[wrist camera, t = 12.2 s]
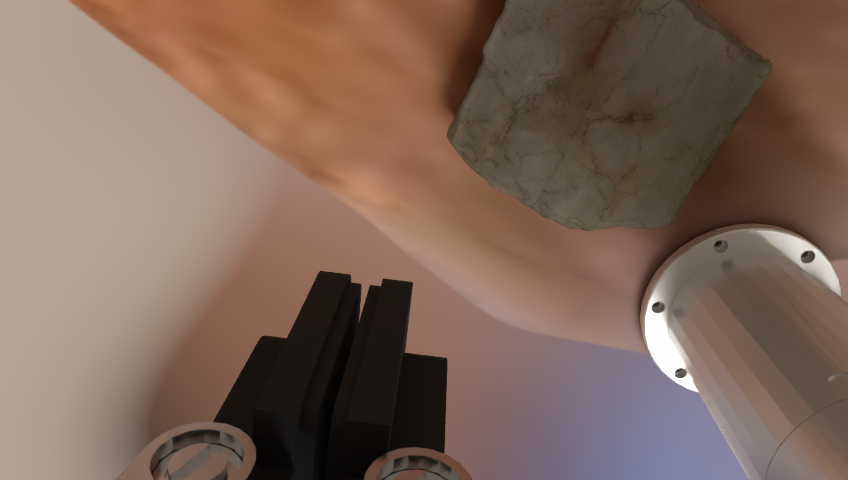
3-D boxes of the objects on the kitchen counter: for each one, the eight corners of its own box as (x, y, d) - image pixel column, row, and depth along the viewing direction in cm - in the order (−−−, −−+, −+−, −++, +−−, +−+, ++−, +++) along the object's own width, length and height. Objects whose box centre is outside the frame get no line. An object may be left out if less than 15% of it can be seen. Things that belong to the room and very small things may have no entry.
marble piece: (568, -129, 34) (582, -143, 30) (792, 4, 36) (833, 7, 32) (427, 143, 40) (424, 160, 36) (626, 244, 42) (643, 271, 38)
